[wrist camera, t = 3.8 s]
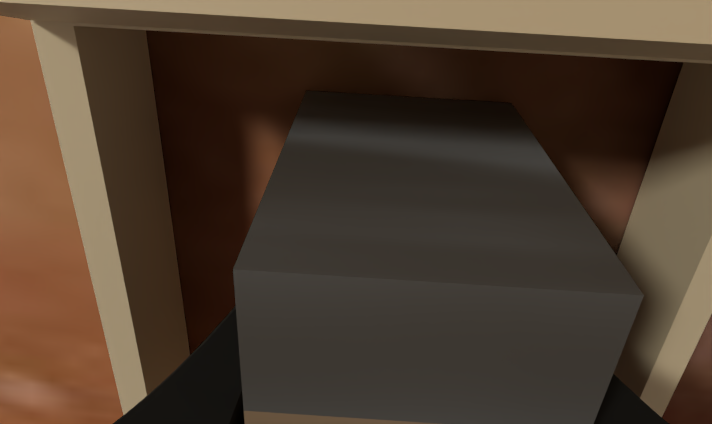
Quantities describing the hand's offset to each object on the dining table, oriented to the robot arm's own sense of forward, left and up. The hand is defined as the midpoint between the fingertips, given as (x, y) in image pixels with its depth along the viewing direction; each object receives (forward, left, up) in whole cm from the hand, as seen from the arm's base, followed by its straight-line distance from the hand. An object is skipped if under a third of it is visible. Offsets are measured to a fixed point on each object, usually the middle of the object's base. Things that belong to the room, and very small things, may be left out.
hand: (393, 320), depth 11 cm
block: (0, 0, -2) cm, 2 cm away
